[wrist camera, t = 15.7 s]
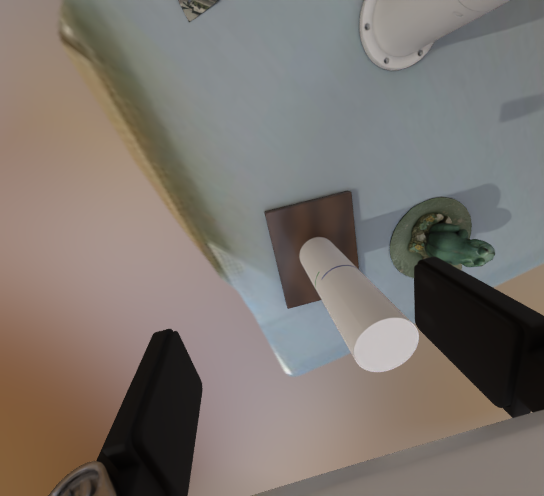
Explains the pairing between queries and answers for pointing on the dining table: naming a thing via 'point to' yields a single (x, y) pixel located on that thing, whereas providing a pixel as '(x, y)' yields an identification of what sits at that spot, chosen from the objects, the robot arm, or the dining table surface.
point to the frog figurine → (437, 237)
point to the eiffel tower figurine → (195, 7)
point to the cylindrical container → (359, 308)
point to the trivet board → (302, 227)
